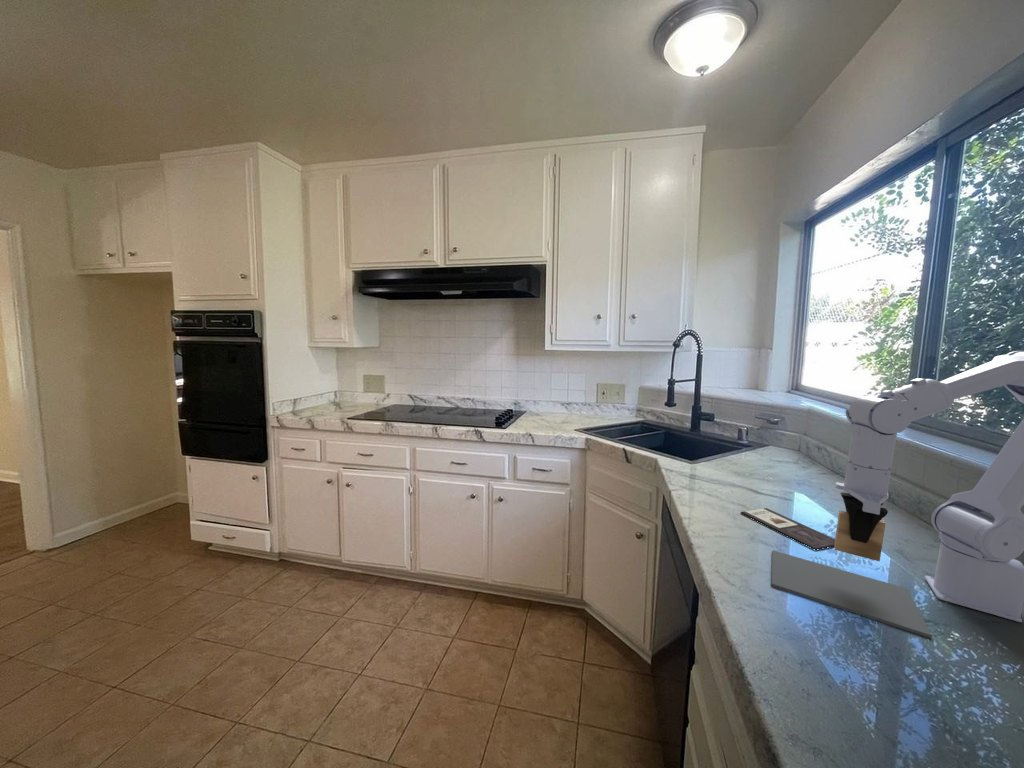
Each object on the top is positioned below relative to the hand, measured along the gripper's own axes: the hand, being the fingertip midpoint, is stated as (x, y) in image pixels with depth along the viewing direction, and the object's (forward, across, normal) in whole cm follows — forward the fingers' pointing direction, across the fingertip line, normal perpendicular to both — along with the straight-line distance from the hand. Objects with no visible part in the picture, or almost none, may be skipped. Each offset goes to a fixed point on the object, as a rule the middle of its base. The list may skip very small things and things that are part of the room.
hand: (857, 537), depth 70 cm
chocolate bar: (+10, -20, -9) cm, 24 cm away
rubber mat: (+9, +3, -2) cm, 10 cm away
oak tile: (+3, 0, 0) cm, 3 cm away
